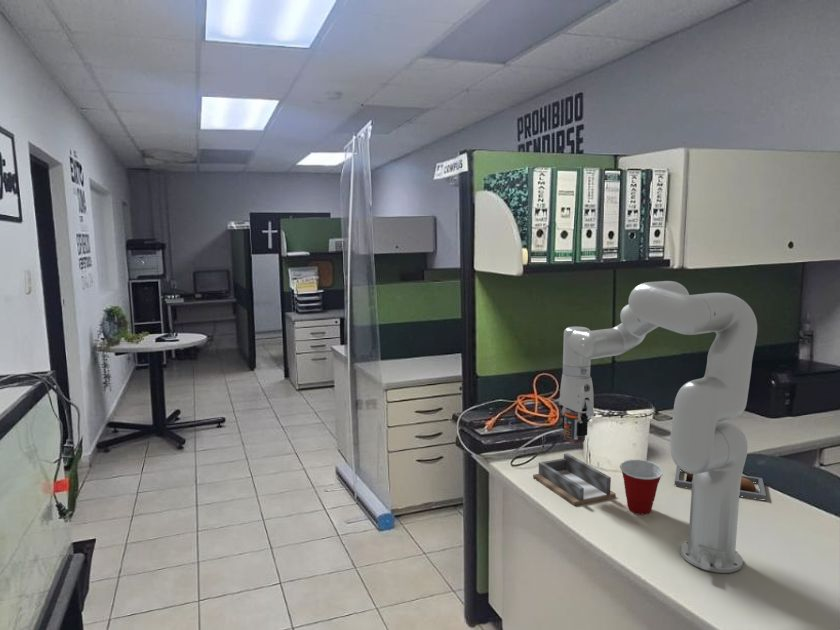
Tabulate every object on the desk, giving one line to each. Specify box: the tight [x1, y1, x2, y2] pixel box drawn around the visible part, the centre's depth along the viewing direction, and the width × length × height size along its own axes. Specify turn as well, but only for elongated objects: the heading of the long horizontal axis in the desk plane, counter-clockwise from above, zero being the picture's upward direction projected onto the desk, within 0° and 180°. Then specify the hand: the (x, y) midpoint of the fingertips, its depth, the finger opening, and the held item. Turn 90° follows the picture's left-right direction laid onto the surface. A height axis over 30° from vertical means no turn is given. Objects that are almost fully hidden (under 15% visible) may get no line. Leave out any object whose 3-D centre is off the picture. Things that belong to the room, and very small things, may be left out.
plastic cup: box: [619, 458, 664, 515], centre depth 156 cm, size 11×11×12 cm
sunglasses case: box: [685, 473, 756, 493], centre depth 173 cm, size 18×7×7 cm
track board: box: [532, 452, 617, 507], centre depth 171 cm, size 20×14×6 cm
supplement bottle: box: [563, 408, 586, 444], centre depth 169 cm, size 6×6×11 cm
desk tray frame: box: [673, 465, 767, 500], centre depth 172 cm, size 13×23×2 cm, turn 64°
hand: (574, 431), depth 169 cm, fingers closed on supplement bottle, 6 cm apart
